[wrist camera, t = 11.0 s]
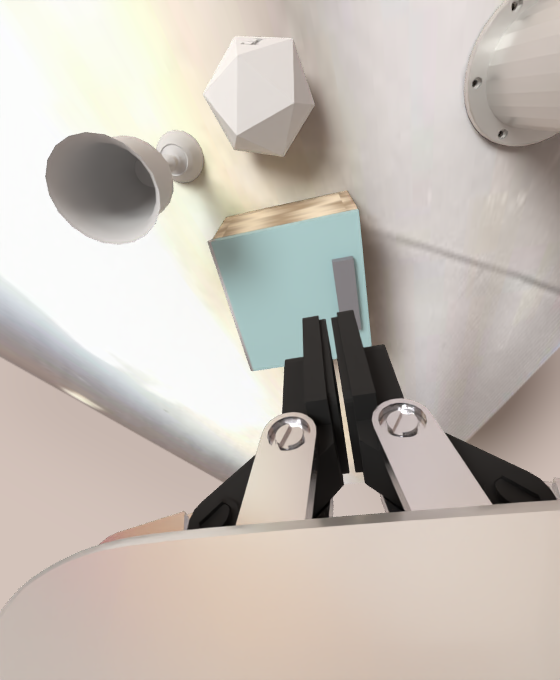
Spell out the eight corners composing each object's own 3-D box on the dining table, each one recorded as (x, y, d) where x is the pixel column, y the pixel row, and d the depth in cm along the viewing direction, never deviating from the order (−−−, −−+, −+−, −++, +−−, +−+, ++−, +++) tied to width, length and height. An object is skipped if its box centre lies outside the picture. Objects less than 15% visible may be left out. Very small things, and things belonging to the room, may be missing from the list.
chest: (346, 190, 39) (357, 208, 32) (360, 314, 48) (370, 348, 41) (226, 217, 41) (212, 239, 34) (259, 331, 50) (254, 366, 43)
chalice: (208, 118, 36) (145, 129, 21) (218, 190, 40) (170, 243, 25) (138, 121, 36) (26, 134, 21) (154, 192, 40) (68, 246, 25)
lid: (357, 208, 32) (360, 213, 31) (371, 349, 41) (373, 357, 39) (208, 240, 34) (204, 245, 33) (251, 367, 43) (249, 375, 42)
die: (329, 91, 35) (307, -6, 25) (304, 181, 35) (272, 120, 26) (251, 85, 37) (204, -6, 28) (229, 169, 38) (175, 109, 28)
